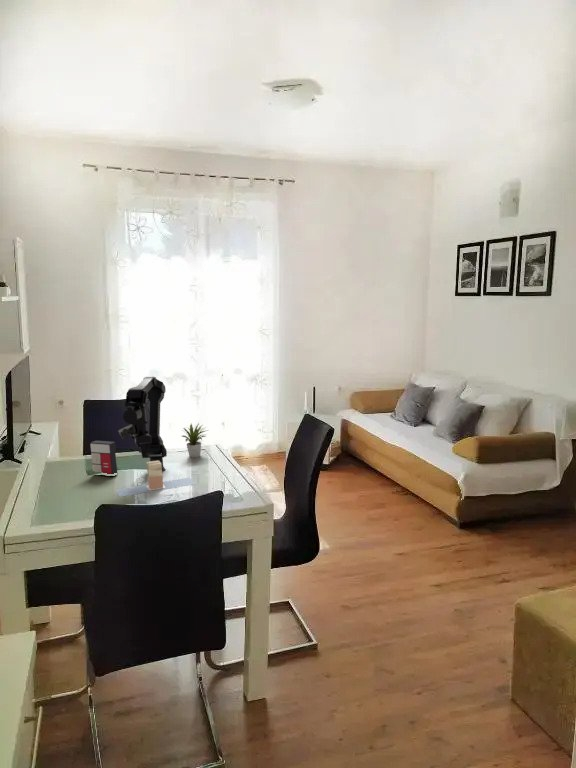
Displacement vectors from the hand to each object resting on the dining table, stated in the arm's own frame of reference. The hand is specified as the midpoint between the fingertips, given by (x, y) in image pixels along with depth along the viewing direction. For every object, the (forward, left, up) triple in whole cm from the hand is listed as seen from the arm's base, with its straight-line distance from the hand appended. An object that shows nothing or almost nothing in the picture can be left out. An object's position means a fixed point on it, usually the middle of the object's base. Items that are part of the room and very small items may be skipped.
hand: (142, 455), depth 243 cm
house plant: (-28, +28, -12) cm, 41 cm away
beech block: (+10, +3, -6) cm, 12 cm away
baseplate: (+10, +3, -12) cm, 16 cm away
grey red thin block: (-20, -14, -12) cm, 27 cm away
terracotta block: (+10, +3, -11) cm, 15 cm away
